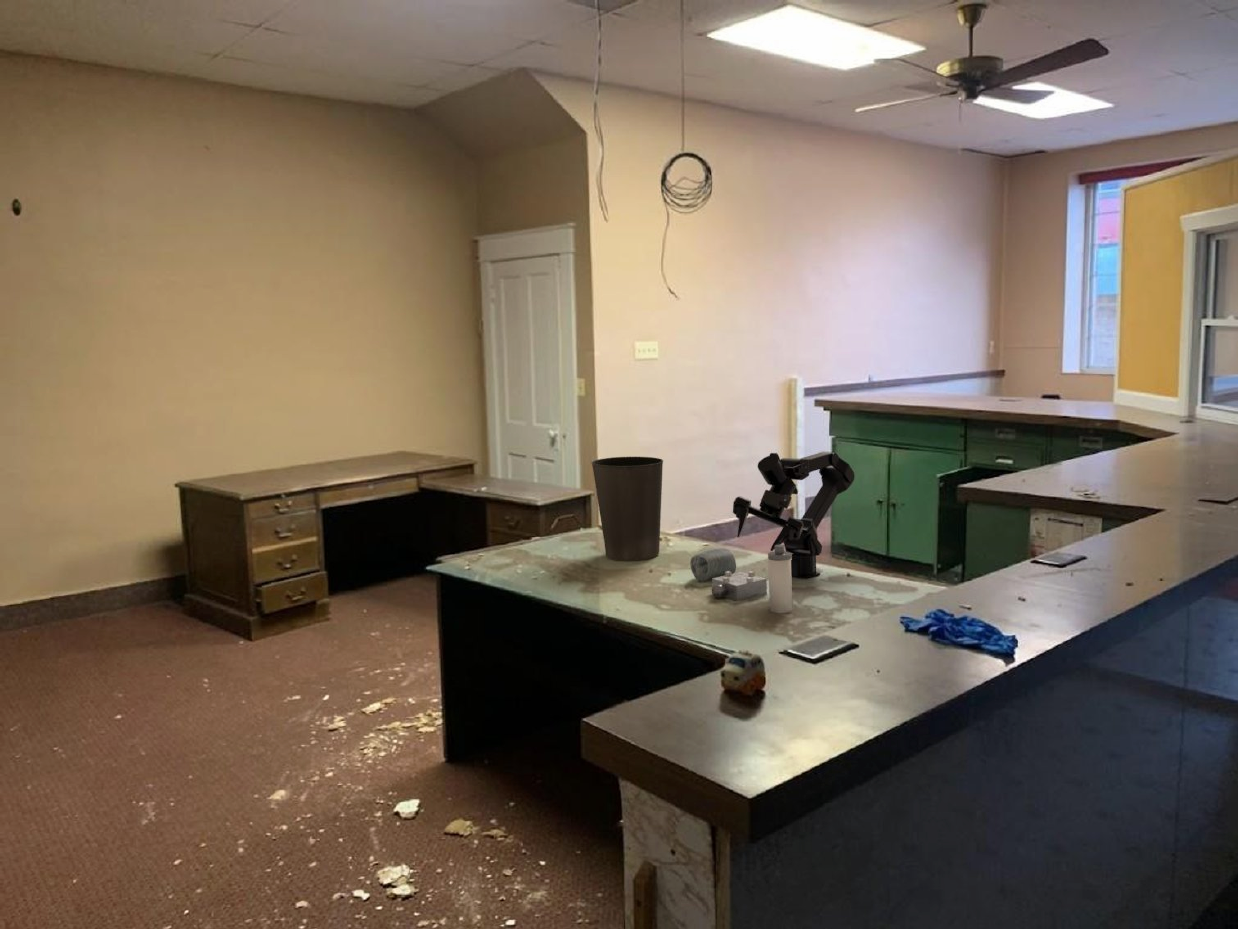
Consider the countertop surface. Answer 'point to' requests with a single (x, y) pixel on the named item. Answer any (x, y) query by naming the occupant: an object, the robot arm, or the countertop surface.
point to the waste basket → (629, 505)
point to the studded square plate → (739, 586)
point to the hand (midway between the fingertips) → (754, 543)
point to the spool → (712, 564)
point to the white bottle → (780, 580)
